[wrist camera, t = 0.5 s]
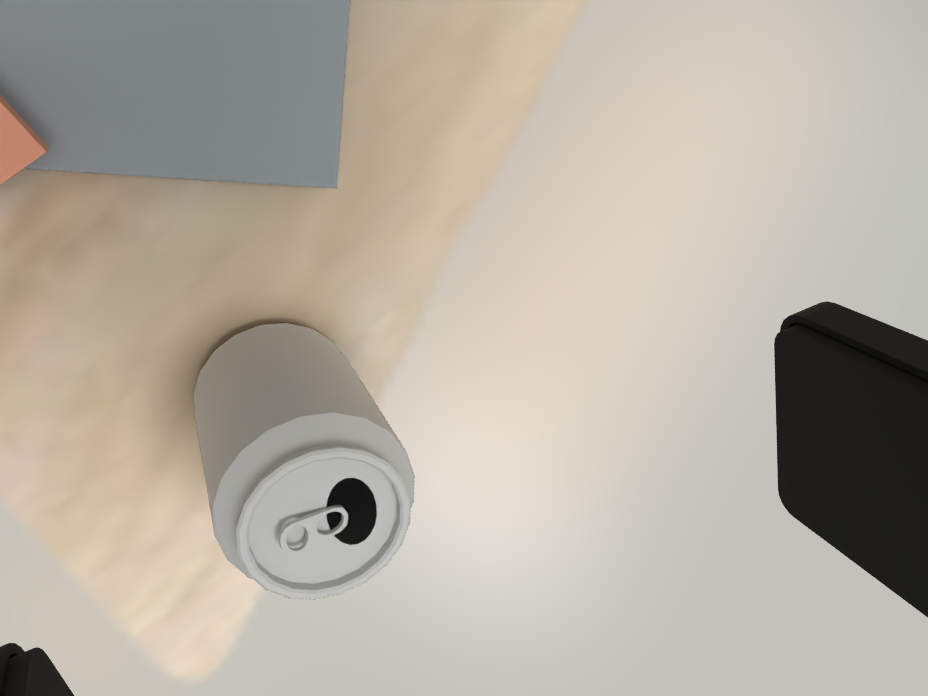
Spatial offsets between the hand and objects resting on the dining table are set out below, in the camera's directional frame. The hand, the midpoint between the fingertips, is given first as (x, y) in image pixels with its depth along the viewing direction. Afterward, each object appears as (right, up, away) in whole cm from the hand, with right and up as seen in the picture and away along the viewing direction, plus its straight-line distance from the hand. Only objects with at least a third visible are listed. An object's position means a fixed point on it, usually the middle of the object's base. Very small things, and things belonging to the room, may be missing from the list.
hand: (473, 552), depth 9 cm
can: (-9, +1, +28) cm, 30 cm away
